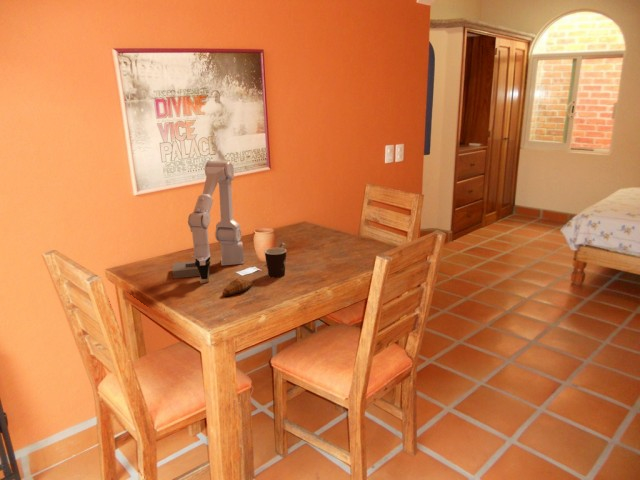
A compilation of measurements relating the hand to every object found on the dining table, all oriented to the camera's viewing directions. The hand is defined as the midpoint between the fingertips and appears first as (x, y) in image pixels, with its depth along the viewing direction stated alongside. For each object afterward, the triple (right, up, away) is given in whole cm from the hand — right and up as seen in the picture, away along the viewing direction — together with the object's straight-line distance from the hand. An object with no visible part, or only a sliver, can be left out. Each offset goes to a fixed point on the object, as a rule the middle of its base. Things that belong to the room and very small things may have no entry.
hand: (204, 277), depth 186 cm
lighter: (+27, +5, +21) cm, 34 cm away
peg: (0, -2, 0) cm, 2 cm away
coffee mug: (+28, +1, +7) cm, 29 cm away
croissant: (+15, -5, -10) cm, 18 cm away
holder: (-8, +1, +11) cm, 13 cm away
